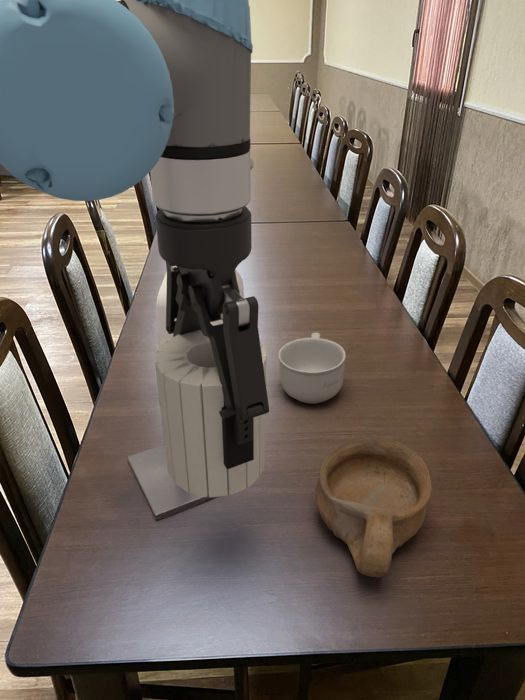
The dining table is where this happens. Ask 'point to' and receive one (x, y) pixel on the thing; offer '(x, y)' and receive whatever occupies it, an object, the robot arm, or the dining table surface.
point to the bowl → (373, 498)
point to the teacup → (312, 368)
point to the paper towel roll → (200, 419)
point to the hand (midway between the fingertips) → (214, 429)
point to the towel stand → (161, 484)
